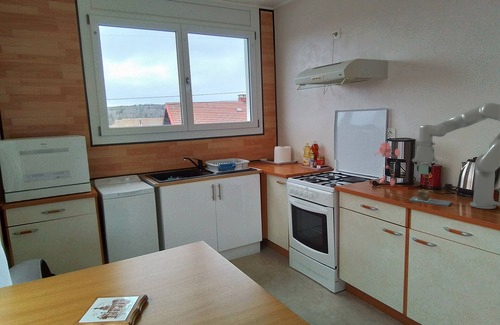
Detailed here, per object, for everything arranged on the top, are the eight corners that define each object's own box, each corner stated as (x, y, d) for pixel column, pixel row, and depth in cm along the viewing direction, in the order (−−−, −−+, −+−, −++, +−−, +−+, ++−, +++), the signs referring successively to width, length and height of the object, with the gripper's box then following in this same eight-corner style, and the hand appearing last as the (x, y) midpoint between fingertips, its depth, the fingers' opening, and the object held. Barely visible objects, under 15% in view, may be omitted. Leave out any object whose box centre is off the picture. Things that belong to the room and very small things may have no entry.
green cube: (429, 173, 205) (430, 164, 205) (427, 174, 201) (428, 165, 201) (420, 172, 209) (420, 164, 208) (418, 173, 205) (418, 165, 204)
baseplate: (451, 202, 202) (451, 201, 202) (447, 206, 194) (447, 204, 194) (413, 197, 216) (413, 196, 216) (409, 201, 209) (409, 199, 209)
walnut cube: (428, 199, 208) (429, 190, 207) (426, 201, 204) (427, 192, 203) (419, 197, 212) (419, 189, 211) (417, 199, 208) (417, 191, 207)
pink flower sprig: (379, 181, 271) (379, 140, 265) (404, 187, 247) (405, 142, 242) (365, 183, 265) (365, 141, 260) (389, 190, 241) (390, 144, 236)
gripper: (442, 144, 200) (440, 172, 202) (412, 143, 211) (411, 170, 214) (439, 145, 194) (437, 174, 197) (409, 144, 205) (408, 172, 208)
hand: (424, 172), depth 205 cm, fingers closed on green cube, 5 cm apart
